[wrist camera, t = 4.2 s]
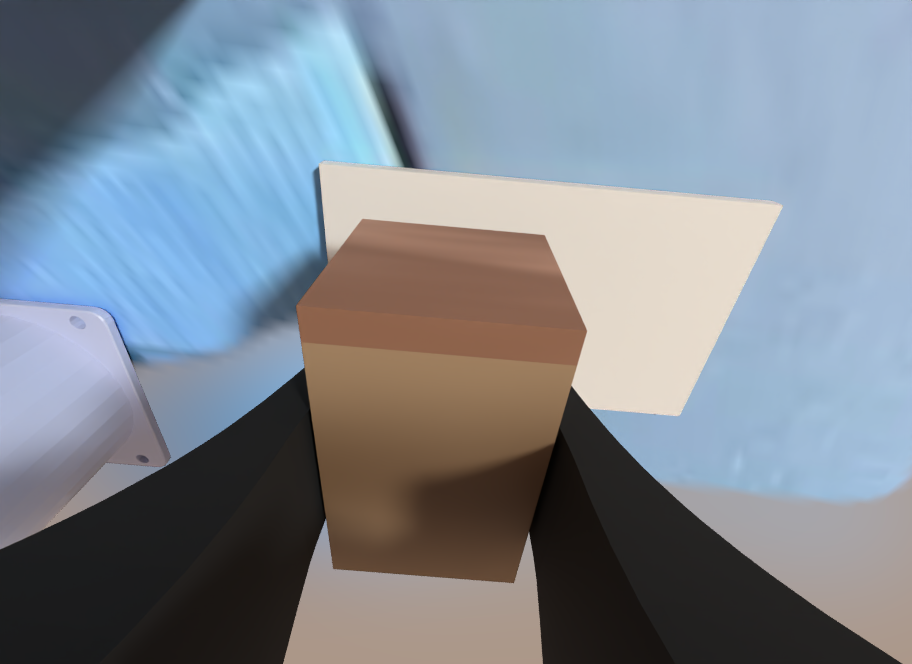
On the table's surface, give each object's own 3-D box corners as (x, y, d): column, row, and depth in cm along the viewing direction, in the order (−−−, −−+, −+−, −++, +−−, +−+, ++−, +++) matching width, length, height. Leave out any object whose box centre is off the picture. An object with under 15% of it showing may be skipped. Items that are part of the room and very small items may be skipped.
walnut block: (502, 446, 13) (514, 582, 9) (370, 434, 13) (333, 569, 9) (544, 235, 9) (586, 330, 6) (362, 218, 9) (295, 305, 6)
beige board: (343, 378, 16) (339, 387, 16) (324, 160, 12) (318, 163, 11) (673, 407, 16) (679, 416, 16) (772, 200, 12) (783, 205, 12)
